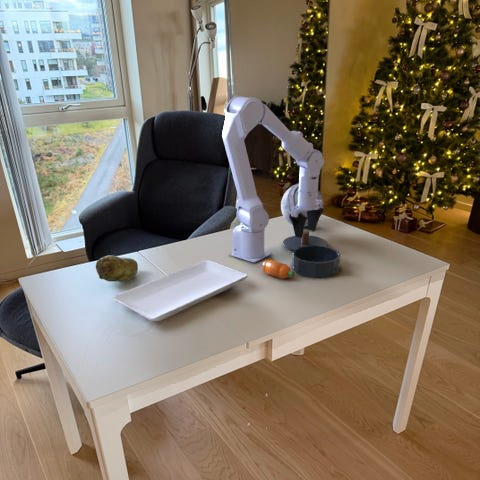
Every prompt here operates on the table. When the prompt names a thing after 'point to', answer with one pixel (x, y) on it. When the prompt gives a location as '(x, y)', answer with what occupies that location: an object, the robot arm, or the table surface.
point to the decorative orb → (294, 202)
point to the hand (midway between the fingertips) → (305, 233)
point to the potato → (116, 268)
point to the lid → (303, 241)
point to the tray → (180, 290)
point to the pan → (316, 261)
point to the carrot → (277, 269)
